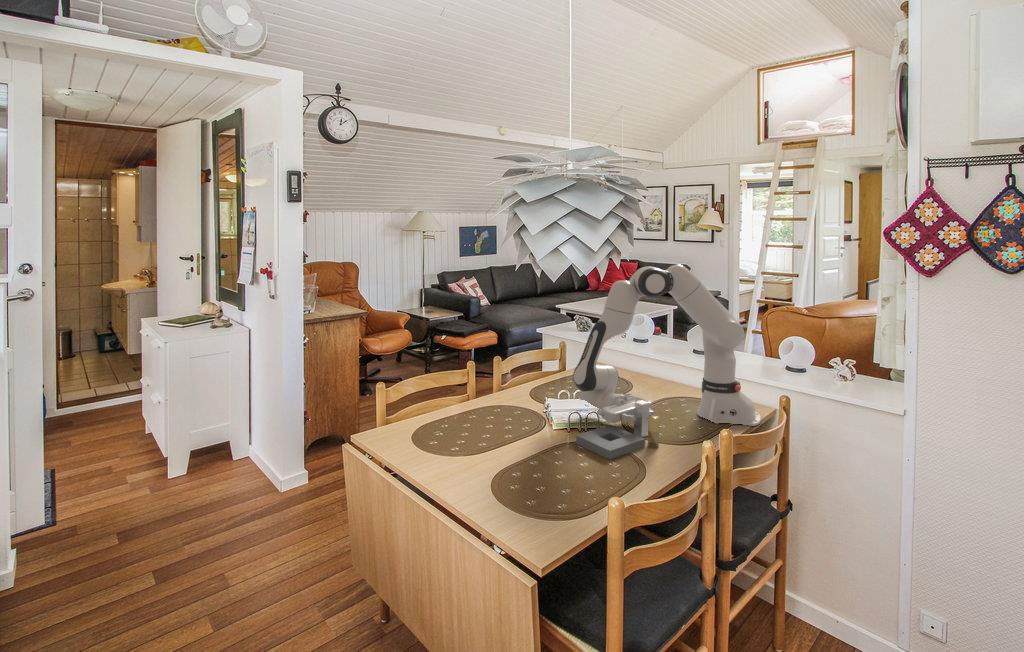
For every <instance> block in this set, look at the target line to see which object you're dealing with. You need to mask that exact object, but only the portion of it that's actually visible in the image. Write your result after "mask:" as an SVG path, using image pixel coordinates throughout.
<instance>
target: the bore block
mask: <svg viewBox="0 0 1024 652" xmlns="http://www.w3.org/2000/svg"><path fill="white" fill-rule="evenodd" d="M575 443H576V445H578V446H580V447H583V448H585V449H586V450H589V451H591V452H593V453H595V454H597V455H599V456H601V457H603V458H605V459H606V460H607V459H608V460H613V459H617V458H618V457H621V455H622V456H624V454H625V455H627V454H630V453H633V452H636V451H638V450H642V449H643V448H646V447H645V446H646V438H645V437H643V438H642V437H639V436H637V435H634V433H632V432H630V431H627V430H624V429H623V428H620V427H617V426H615V425H612V424H608V425H605V426H602V427H598V428H595V429H593V430H592V429H591V430H589V431H586V432H582V433H579V434H576V435H575Z"/></svg>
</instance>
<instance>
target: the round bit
mask: <svg viewBox="0 0 1024 652" xmlns="http://www.w3.org/2000/svg"><path fill="white" fill-rule="evenodd" d="M660 424H661V417H660V416H658V415H653V416H649V422H648V436H647V447H648V448H650V449H658V448H659V446H660Z"/></svg>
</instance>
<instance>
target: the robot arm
mask: <svg viewBox="0 0 1024 652" xmlns="http://www.w3.org/2000/svg"><path fill="white" fill-rule="evenodd" d="M667 293H668V294H669V295H671V297H672V298H673V299H674V300H675V302H677V304H678V305H679V306H680V307H681V308H682V309H683V311H685V313H686V314H687V315H688V316H689V317H690V318H691V320H693V321H694V322H695V323H696V324H697V325H698V326H699V327H700V329H701V330H702V342H703V343H702V345H703V352H704V353H703V358H704V362H703V363H704V366H703V377H702V381H701V393H702V394H701V399H700V403H699V407H698V410H697V413H696V414H697V415H698V416H699V417H701V418H702V417H703V419H704V418H705V420H707V419H708V420H707V421H709V420H710V421H711V422H710V421H709V422H710V423H712V422H714V423H713V424H719V423H733V424H743V425H742V426H747V425H748V427H749V426H750V427H751V426H752V427H756V426H759V424H761V421H762V416H761V414H760V413H759V412H757V411H756V408H755V404H754V402H753V400H752V399H751V398H750V397H748V395H746V394H745V393H743V392H742V391H741V388H742V387H741V382H740V381H737V380H736V370H737V369H736V365H737V358H736V355H735V350H734V348H737V347H739V346H740V345H741V344H742V343H743V341H744V339H745V330H744V327H743V326H742V324H741V323H740V321H738V319H737V318H736V317H735V316H734V315H733V314H732V312H730V311H729V310H728V309H727V308H726V307H725V306H724V305H723V304H722V303H721V302H720V301H719V300H718V299H717V298H716V297H715V296H714V294H712V293H711V292H710V291H709V289H708V288H707V287H706V285H704V283H702V281H701V280H699V278H698V277H697V275H695V274H694V273H693V272H692V271H691V270H689V269H688V268H687V267H686V266H685V265H683V264H674V265H671V266H669V267H668V268H667V269H665V270H664V269H661V268H659V267H655V266H650V265H649V266H640V267H638V268H636V269H635V270H634V271H633V273H632V274H630V276H629V277H628V278H627V279H626V280H625V279H624V280H621V279H620V280H617V281H614V282H613V283H612V285H611V287H610V289H609V292H608V295H607V297H606V301H605V303H604V304H605V305H604V307H603V312H602V313H601V316H600V318H599V320H598V321H597V322H596V323H595V324H594V325H593V326H592V328H591V330H590V333H589V335H588V338H587V341H586V344H585V346H584V349H583V351H582V354H581V356H580V359H579V361H578V363H577V365H576V366H575V368H574V371H573V374H572V379H573V383H574V386H576V387H577V389H578V390H579V391H580V393H579V400H580V401H581V400H585V401H587V402H588V403H590V404H591V405H593V406H595V407H597V408H599V410H598V411H597V412H596V414H597V416H601V418H602V419H603V420H604V421H606V422H608V423H611V424H616V423H620V422H622V421H624V422H631V423H634V421H636V417H635V416H634V405H635V402H636V401H640V400H643V401H646V402H649V403H650V409H649V416H655V411H654V410H653V409H652V408H653V403H652V402H651V401H650V400H648V399H645V398H643V397H640V396H635V394H633V393H616V392H617V388H618V385H619V378H620V377H619V373H618V370H617V368H615V366H613V365H611V364H598V363H597V362H598V359H599V357H600V354H601V352H602V349H603V346H604V345H605V344H606V342H608V341H609V340H611V339H612V338H615V337H618V336H620V335H623V334H624V333H626V332H627V331H628V330H629V329H630V327H631V326H632V322H633V320H634V315H635V311H636V305H637V304H638V302H639V300H640V299H641V298H643V297H647V298H651V299H652V298H658V297H661V296H663V295H665V294H667ZM718 422H719V423H718ZM733 424H732V425H733Z"/></svg>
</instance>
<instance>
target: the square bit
mask: <svg viewBox="0 0 1024 652" xmlns="http://www.w3.org/2000/svg"><path fill="white" fill-rule="evenodd" d="M649 409H650V403H649V402H646V401H643V400H640V401H636V402H635V405H634V416H635V417H636V421H634V422H633V434H634V435H637V436H639V437H642V438H645V437H648V422H649Z"/></svg>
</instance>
